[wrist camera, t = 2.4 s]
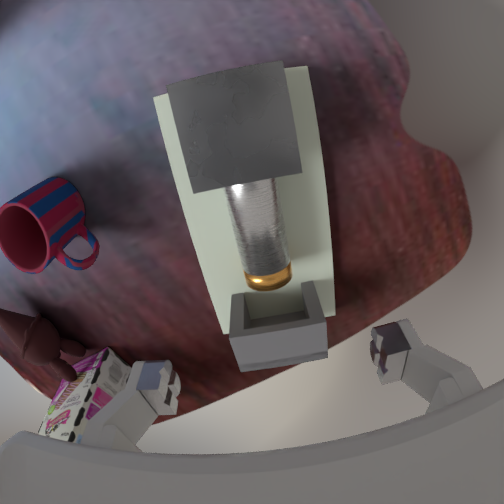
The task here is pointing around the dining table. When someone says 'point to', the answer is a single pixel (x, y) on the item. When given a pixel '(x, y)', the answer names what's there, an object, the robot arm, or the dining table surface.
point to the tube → (260, 233)
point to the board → (294, 211)
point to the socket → (278, 334)
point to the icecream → (41, 342)
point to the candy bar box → (85, 395)
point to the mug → (44, 226)
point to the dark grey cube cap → (236, 126)
